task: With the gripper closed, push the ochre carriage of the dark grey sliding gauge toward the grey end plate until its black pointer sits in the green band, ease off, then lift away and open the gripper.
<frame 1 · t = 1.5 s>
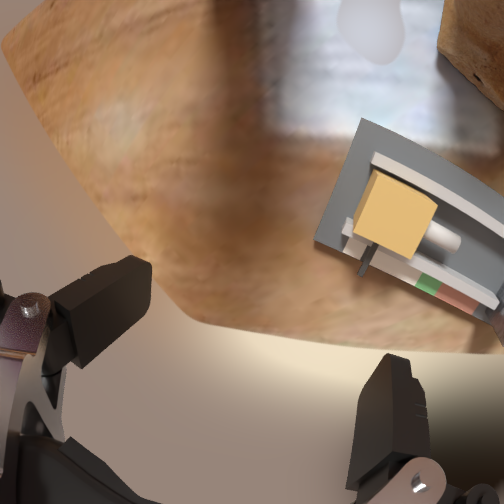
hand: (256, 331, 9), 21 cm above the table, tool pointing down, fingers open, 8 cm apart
gauge carriage: (402, 242, 22), point 4 cm above the table, slide at 0.0 cm
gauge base: (447, 232, 24), on the table
brown clay boot: (474, 29, 16), on the table
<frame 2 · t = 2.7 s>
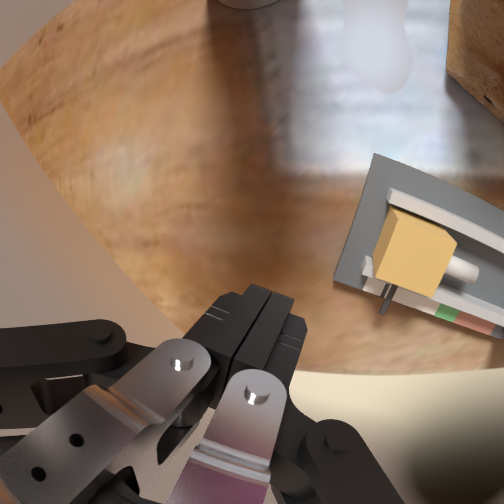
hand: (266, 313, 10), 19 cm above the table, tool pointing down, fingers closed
gauge carriage: (422, 279, 22), point 4 cm above the table, slide at 0.0 cm
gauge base: (463, 258, 23), on the table
brown clay boot: (480, 44, 16), on the table
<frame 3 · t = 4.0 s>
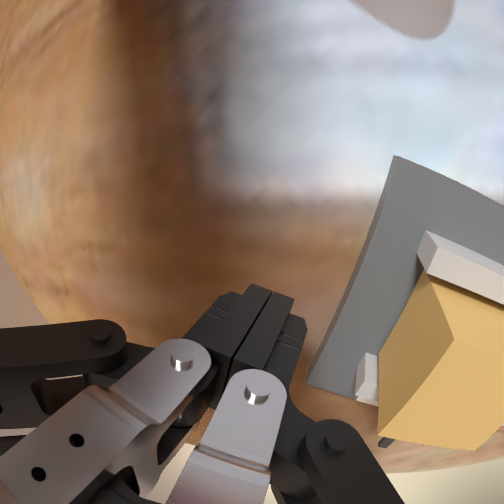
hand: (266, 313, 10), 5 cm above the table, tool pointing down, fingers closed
gauge carriage: (463, 404, 9), point 4 cm above the table, slide at 0.0 cm
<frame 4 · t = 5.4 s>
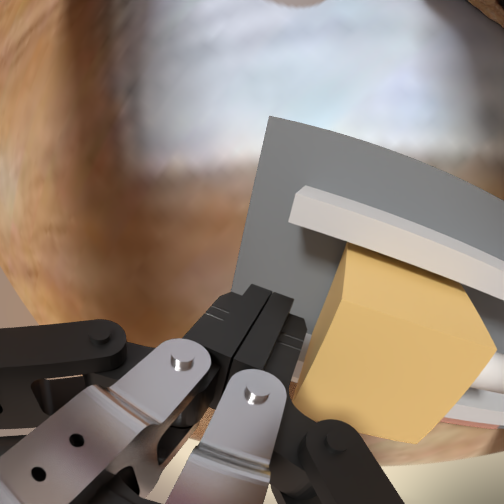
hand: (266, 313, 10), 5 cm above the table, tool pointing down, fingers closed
gauge carriage: (407, 391, 10), point 4 cm above the table, slide at 1.7 cm, touching gripper
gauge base: (468, 318, 12), on the table
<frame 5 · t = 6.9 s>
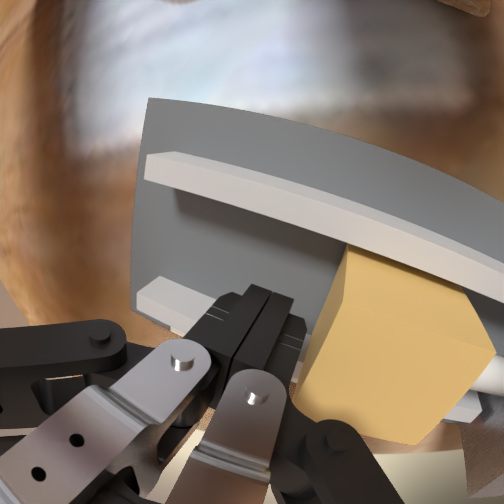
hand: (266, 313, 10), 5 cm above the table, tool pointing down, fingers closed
gauge carriage: (406, 392, 10), point 4 cm above the table, slide at 7.6 cm, touching gripper
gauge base: (370, 285, 13), on the table
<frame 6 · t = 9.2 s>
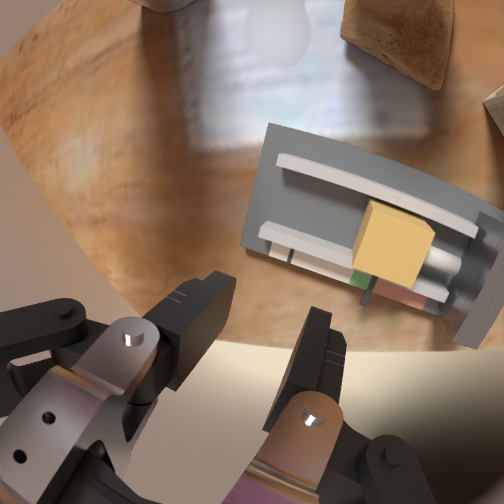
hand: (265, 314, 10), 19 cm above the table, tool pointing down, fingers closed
gauge carriage: (403, 270, 22), point 4 cm above the table, slide at 7.6 cm
grey end plate: (466, 259, 24), resting on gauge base
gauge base: (379, 224, 26), on the table
brown clay boot: (388, 8, 18), on the table
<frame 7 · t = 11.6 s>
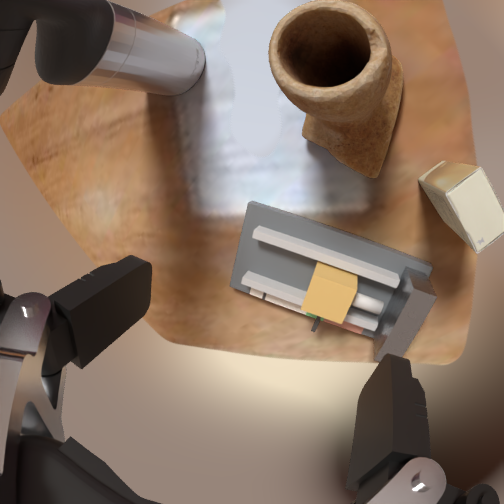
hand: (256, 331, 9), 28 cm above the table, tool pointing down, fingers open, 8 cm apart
gauge carriage: (340, 309, 34), point 4 cm above the table, slide at 7.6 cm
skincare box: (442, 189, 29), on the table
grey end plate: (398, 298, 35), resting on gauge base
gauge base: (328, 273, 37), on the table
brown clay boot: (346, 101, 30), on the table
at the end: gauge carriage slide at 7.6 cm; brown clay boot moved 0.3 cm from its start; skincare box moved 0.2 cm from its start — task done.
